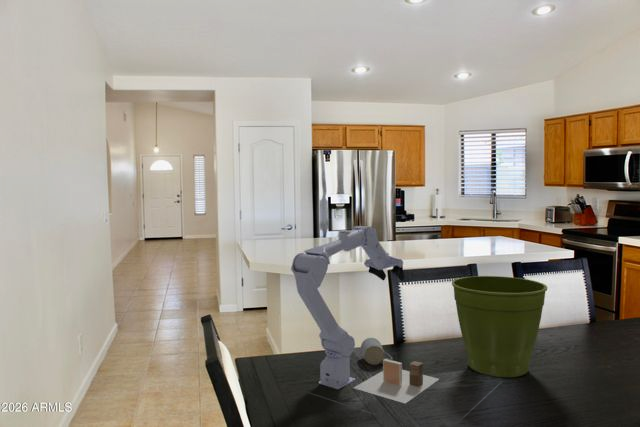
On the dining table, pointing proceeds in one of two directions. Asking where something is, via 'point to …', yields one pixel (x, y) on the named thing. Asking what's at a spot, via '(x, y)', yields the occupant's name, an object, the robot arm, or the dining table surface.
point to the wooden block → (416, 373)
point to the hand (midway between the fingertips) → (393, 278)
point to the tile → (392, 372)
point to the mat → (395, 387)
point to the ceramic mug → (373, 351)
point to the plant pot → (499, 322)
